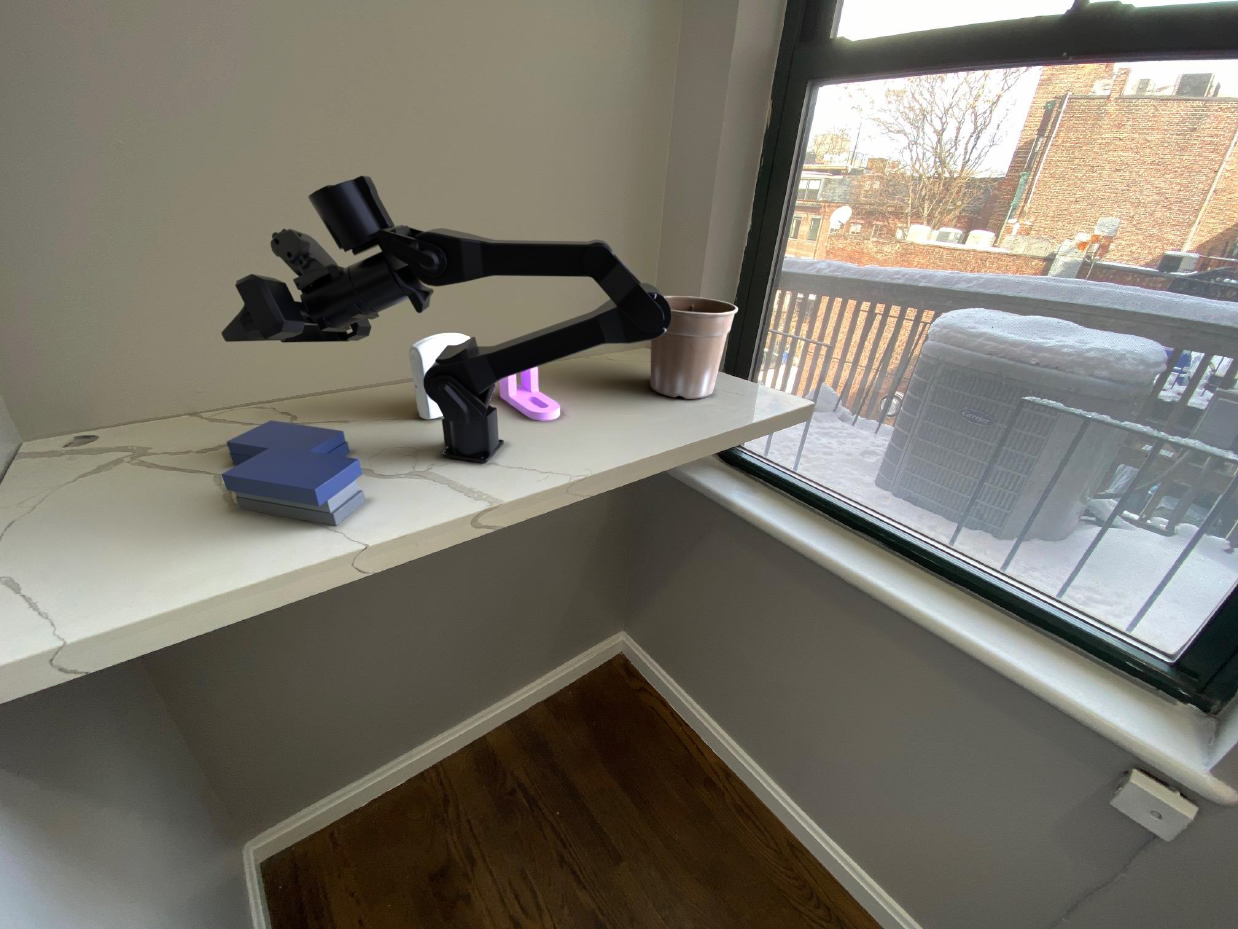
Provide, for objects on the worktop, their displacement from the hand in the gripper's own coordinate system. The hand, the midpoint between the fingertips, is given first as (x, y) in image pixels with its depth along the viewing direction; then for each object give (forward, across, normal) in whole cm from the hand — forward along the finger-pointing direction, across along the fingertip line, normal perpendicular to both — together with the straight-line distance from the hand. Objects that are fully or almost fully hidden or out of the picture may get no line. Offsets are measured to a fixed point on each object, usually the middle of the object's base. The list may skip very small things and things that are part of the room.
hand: (254, 338), depth 62 cm
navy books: (+4, -1, +15) cm, 15 cm away
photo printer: (-11, -20, +16) cm, 28 cm away
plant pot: (-48, -38, +28) cm, 68 cm away
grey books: (-2, +9, +21) cm, 22 cm away
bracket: (-23, -24, +21) cm, 39 cm away
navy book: (-3, +9, +18) cm, 20 cm away
